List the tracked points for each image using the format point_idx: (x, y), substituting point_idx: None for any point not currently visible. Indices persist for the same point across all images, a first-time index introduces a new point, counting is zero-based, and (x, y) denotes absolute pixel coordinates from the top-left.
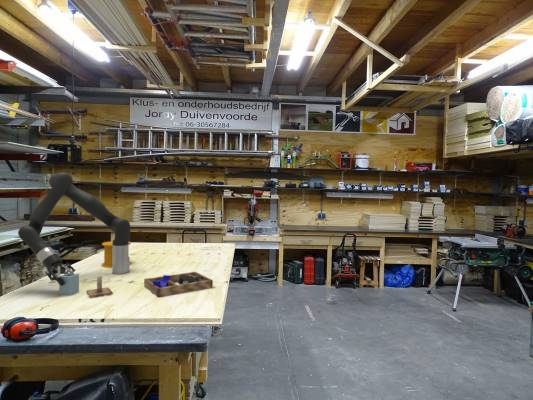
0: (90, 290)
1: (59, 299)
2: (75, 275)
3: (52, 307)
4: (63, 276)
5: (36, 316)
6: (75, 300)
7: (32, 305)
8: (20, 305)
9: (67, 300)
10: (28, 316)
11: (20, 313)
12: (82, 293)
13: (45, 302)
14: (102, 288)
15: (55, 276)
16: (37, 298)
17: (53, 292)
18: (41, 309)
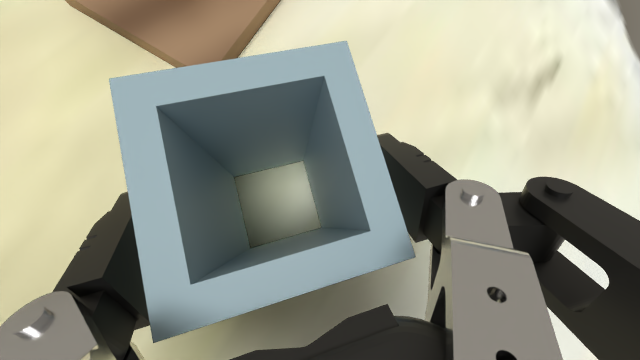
0: (196, 46)
1: (408, 133)
2: (218, 65)
3: (505, 46)
4: (384, 173)
5: (602, 11)
6: (369, 27)
7: None
8: None
9: (393, 70)
10: (624, 43)
11: (634, 113)
12: None
13: (486, 159)
14: (106, 2)
15: (552, 183)
16: None
17: None
18: (552, 71)
